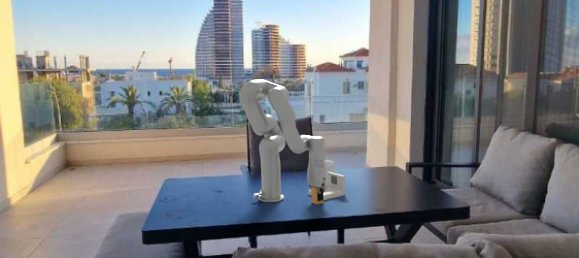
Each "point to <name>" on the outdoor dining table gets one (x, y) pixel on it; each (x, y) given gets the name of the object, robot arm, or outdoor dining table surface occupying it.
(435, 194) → the outdoor dining table surface
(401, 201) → the outdoor dining table surface
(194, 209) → the outdoor dining table surface
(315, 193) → the plug
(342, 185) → the socket
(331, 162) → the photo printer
